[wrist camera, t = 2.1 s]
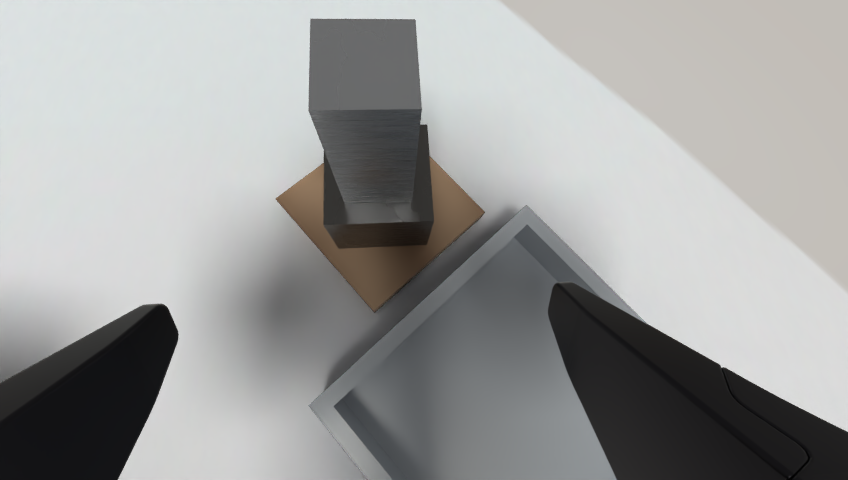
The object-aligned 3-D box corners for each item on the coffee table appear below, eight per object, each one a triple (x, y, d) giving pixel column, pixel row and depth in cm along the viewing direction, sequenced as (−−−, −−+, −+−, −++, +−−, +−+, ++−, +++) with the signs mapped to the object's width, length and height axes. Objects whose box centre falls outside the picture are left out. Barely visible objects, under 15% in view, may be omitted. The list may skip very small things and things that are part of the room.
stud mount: (374, 312, 22) (369, 306, 18) (280, 204, 23) (256, 176, 19) (481, 217, 24) (497, 192, 20) (389, 123, 25) (387, 82, 21)
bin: (516, 634, 18) (543, 701, 15) (323, 394, 20) (308, 405, 17) (690, 407, 22) (744, 420, 18) (508, 224, 24) (526, 204, 20)
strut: (426, 244, 22) (458, 139, 10) (338, 248, 22) (270, 143, 10) (421, 165, 23) (444, -6, 12) (338, 167, 23) (278, -8, 11)
